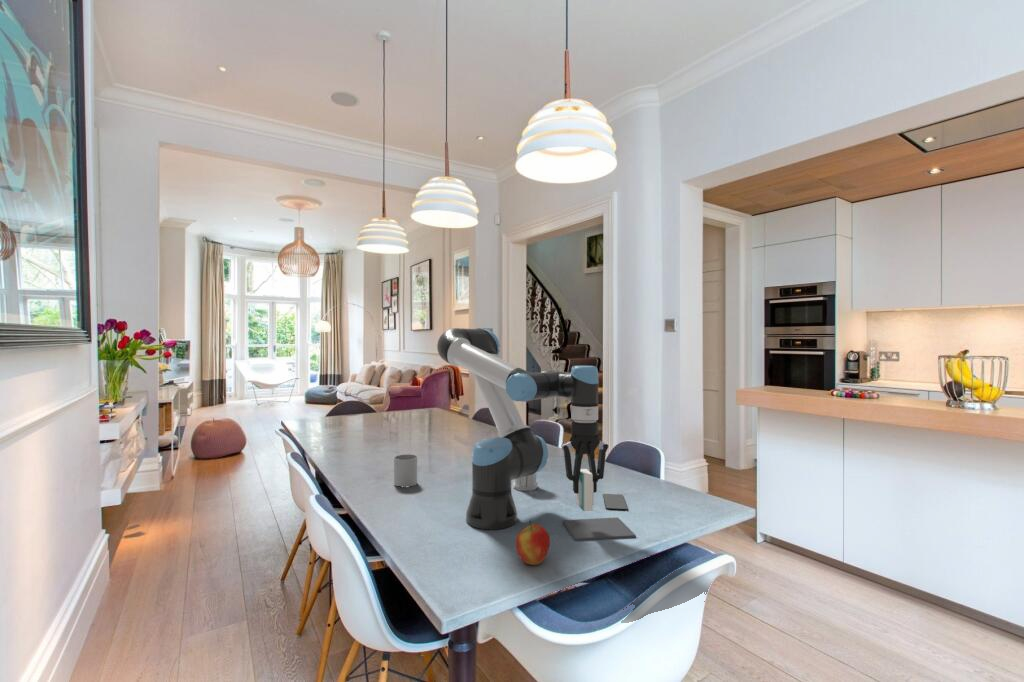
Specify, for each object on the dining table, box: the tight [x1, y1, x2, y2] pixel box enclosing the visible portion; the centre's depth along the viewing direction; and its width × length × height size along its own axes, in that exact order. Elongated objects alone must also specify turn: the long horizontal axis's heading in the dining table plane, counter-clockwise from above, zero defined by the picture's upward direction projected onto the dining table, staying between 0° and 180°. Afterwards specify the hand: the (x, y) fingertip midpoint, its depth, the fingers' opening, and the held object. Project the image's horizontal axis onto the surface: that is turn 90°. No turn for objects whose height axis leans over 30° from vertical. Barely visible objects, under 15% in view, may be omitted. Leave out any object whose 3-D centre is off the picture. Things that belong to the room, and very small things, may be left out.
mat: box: [562, 516, 637, 542], centre depth 133 cm, size 17×13×1 cm
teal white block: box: [578, 468, 594, 512], centre depth 132 cm, size 3×6×10 cm, turn 8°
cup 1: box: [393, 453, 418, 488], centre depth 174 cm, size 8×8×10 cm
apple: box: [515, 519, 551, 566], centre depth 113 cm, size 8×8×10 cm
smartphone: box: [602, 493, 629, 512], centre depth 155 cm, size 7×1×15 cm
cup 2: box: [513, 472, 538, 492], centre depth 171 cm, size 10×9×12 cm
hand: (584, 504), depth 132 cm, fingers closed on teal white block, 3 cm apart
